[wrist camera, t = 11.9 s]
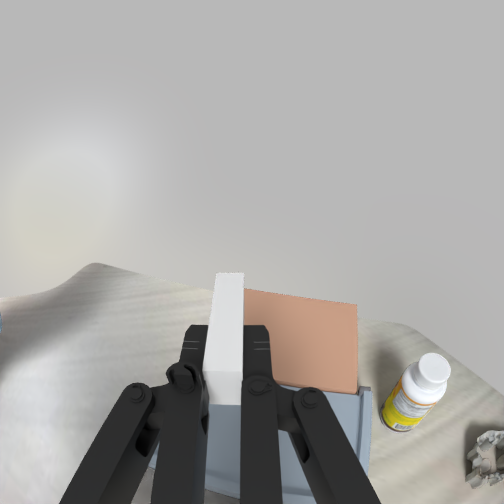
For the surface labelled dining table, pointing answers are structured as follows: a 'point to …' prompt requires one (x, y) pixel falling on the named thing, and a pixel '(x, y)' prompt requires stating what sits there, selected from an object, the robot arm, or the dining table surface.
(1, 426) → the dining table surface
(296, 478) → the blue-grey tray
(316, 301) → the panel
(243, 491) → the robot arm
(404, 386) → the supplement bottle
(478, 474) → the egg carton
